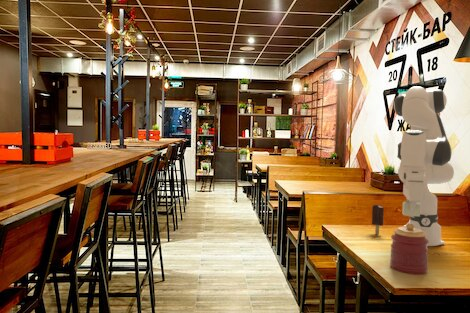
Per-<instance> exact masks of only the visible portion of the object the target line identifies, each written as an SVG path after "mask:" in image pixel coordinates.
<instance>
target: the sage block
mask: <svg viewBox="0 0 470 313" xmlns="http://www.w3.org/2000/svg"><path fill="white" fill-rule="evenodd" d="M409 207H410V202H407V201H402V212H401V213H402V215H403V216H404V217H406V216H407V217H410V216H419V217H420V204H419V203H416V207H415V212H410V211H409Z"/></svg>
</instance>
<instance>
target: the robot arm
mask: <svg viewBox="0 0 470 313" xmlns="http://www.w3.org/2000/svg"><path fill="white" fill-rule="evenodd" d="M447 102H448V101H447V96H446V94H445V91H443V90H442V89H438V88H437V89H436V88H434V89H429V90H427V89H425V87H422V86H417V85H416V86H412V87H410V88H409V89H407V91H406V93H402V94H399V95H397V96H396V97H395V98H394V101H393V110H394V112H395V114H396V115H397V116H398V117H402V119H403V121H404V122H405V123H406V124H408V125H409V126H410V129H408V130H405V131H403V133H402V137H401V141H400V142H399V143H398V144H397V156H396V157H397V158H398V159H399V160H400V163H399V166H398V170H397V174H398V175H397V176H398V177H399V180H400V181H401V182H402V183H403V184H402V185H403V186H402V187H403V188H402V194H403V196H405V198H406V202H410V207H409V211H410V212H415V207H416V203H419V204H420V217H419V216H409V221H408V222H407V223H406V224H404V225H403V227H406V226H407V224H408V223H412V224H413V225H414V228H418V229H421V230H422V231H423V232H425V233H426V234H427V235H426V236H425V237H426V238H427V239H428V240H429V242H428V243H427V247H435V246H440V245H445V241H444V240H442V226H441V225H440V224H439V223H438V220H439V215H438V197H437V195H436V194H434V193H433V192H431V191H430V189H429V188H428V186H429V185H441V184H444V183H445V184H446V183H449V182H451V180H452V179H453V178H454V175H455V171H454V167H453V165H451V163H449V162H450V161H451V158H452V155H453V154H452V153H453V152H452V150H453V149H452V147H451V144H450V141H449V139H448V137H447V133H446V131H445V127H444V123H443V121H442V118H441V116H440V113H442V112H443V111H444V109H445V108H446V105H447Z"/></svg>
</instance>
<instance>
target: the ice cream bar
mask: <svg viewBox="0 0 470 313" xmlns="http://www.w3.org/2000/svg"><path fill="white" fill-rule="evenodd" d="M371 209H372V212H371V214H372V215H371V225H375V232H374V233H375V234H376V235H379V234H380V226H382V227H383V226H384V211H385V210H384V209H385V208H384V206H380V205H379V204H373V205H372V208H371Z"/></svg>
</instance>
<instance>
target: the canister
mask: <svg viewBox="0 0 470 313" xmlns="http://www.w3.org/2000/svg"><path fill="white" fill-rule="evenodd" d="M407 223H408V222H407ZM407 223H406V225H407V226H406V227H404V226H399V227H397V228H395V229H394V230H393V233H394V234H392V235H391V236H390V237H391V241H392V242H391V244H390V261H389V264H390V267H391V268H392V269H393V270H394V271H397V272H400V273H404V274H408V275H424V274H427V272H428V266H429V265H428V260H429V259H428V254H429V248H428V246H427V243H428V242H429V240H428V239H427V238H426V237H425V236H426V235H427V234H426V233H425V232H423V231H422V230H421V229H418V228H414V225H413V224H412V223H408V224H407Z"/></svg>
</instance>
